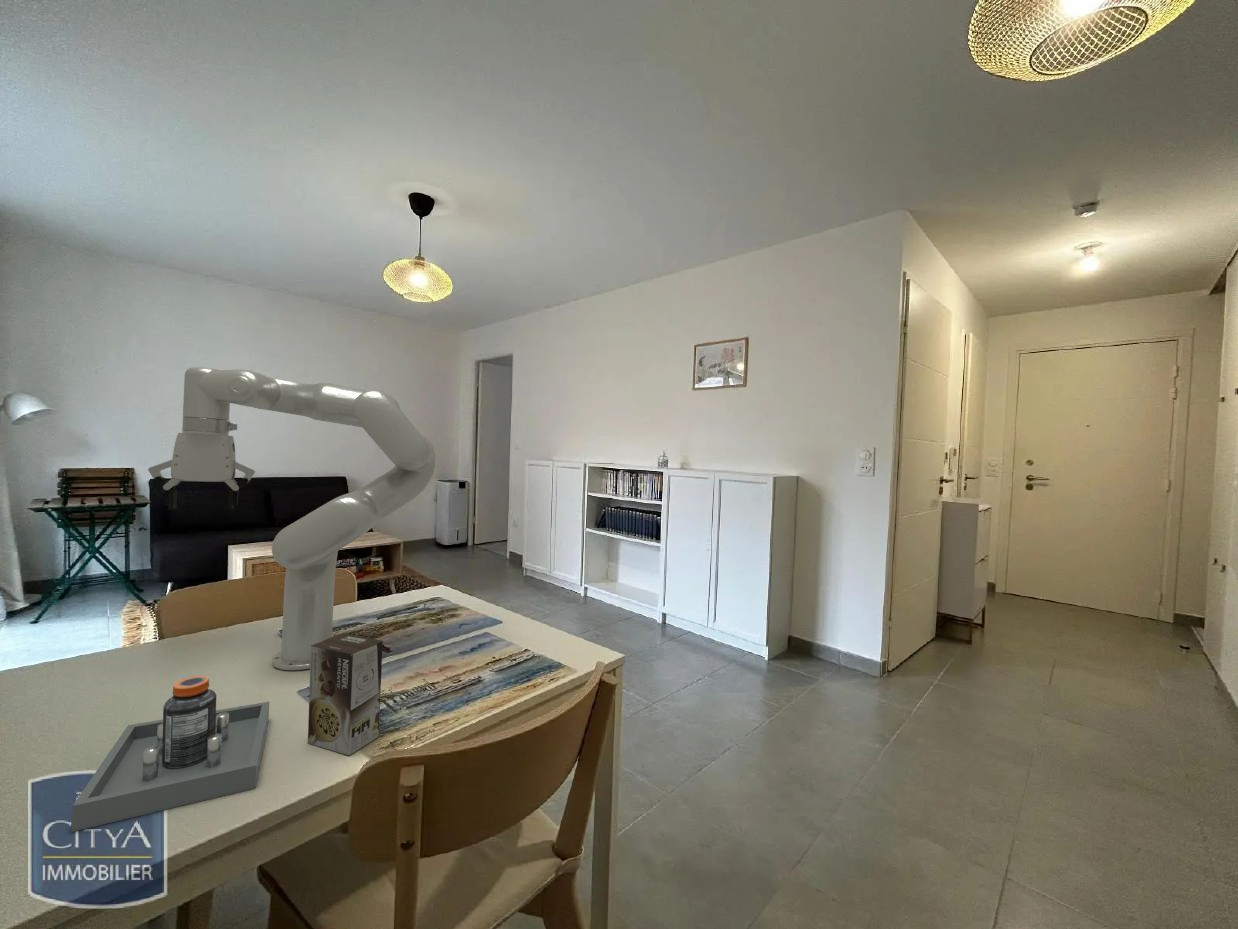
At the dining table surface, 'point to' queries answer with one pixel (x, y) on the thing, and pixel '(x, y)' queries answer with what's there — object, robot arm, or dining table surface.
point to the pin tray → (173, 769)
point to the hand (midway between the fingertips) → (202, 508)
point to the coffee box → (344, 692)
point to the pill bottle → (188, 722)
